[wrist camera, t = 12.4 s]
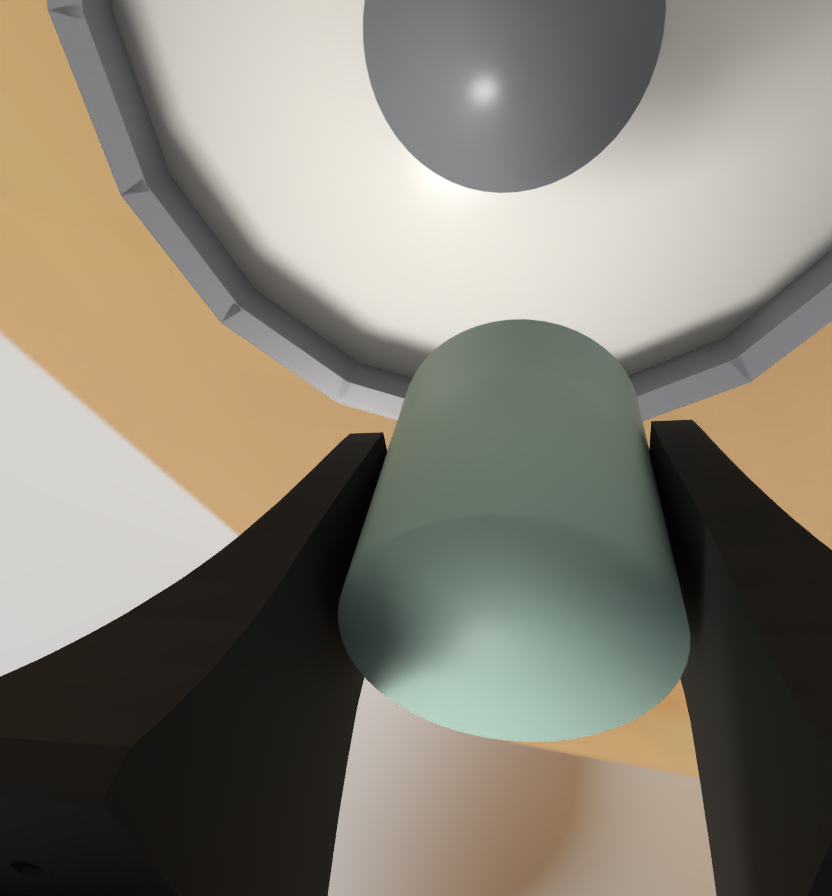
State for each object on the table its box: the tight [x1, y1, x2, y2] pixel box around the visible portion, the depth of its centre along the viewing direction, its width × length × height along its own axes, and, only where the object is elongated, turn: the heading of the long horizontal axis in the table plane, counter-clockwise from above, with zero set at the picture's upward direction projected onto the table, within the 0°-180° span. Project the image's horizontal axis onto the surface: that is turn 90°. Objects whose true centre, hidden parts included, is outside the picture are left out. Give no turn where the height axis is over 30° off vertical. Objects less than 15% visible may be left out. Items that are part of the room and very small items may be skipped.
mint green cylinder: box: [338, 319, 690, 742], centre depth 10 cm, size 4×4×5 cm
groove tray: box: [47, 0, 832, 421], centre depth 14 cm, size 20×20×2 cm
